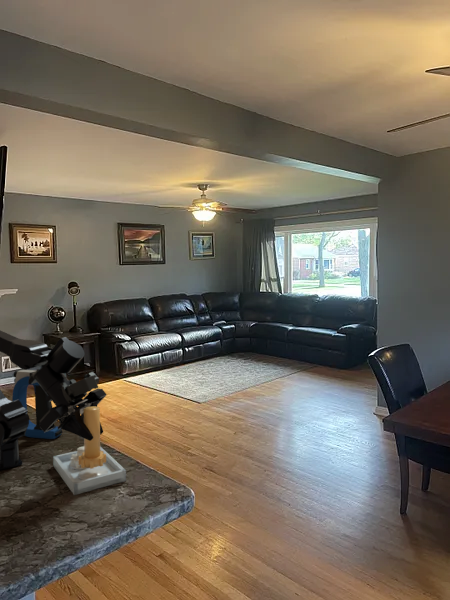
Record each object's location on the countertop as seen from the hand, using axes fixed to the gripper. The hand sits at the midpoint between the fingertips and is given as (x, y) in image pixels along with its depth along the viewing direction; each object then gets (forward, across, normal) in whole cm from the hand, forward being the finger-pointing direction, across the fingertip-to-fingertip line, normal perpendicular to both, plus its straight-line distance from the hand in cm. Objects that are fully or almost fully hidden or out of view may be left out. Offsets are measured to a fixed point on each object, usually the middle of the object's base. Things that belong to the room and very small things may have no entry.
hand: (97, 436), depth 107 cm
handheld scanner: (-15, +19, +31) cm, 39 cm away
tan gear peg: (+4, 0, +6) cm, 7 cm away
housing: (+4, +2, +10) cm, 11 cm away
